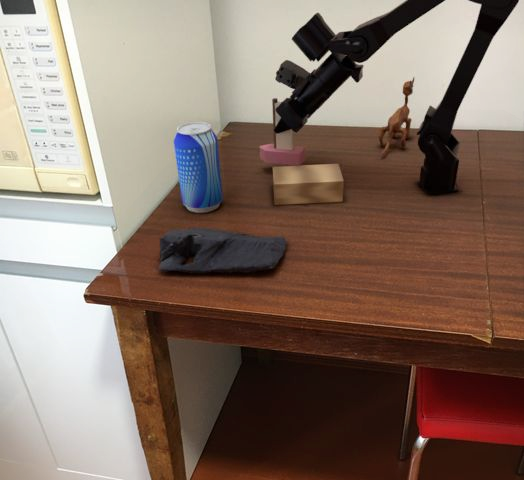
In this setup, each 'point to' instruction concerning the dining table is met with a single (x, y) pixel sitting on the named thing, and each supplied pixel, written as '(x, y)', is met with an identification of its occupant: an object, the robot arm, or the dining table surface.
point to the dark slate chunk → (219, 251)
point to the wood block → (307, 184)
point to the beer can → (198, 167)
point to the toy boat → (282, 145)
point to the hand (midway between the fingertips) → (276, 130)
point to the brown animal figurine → (398, 120)
